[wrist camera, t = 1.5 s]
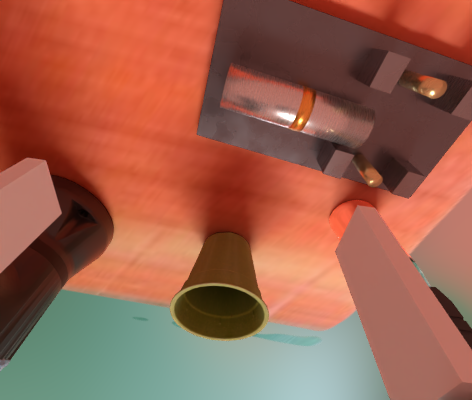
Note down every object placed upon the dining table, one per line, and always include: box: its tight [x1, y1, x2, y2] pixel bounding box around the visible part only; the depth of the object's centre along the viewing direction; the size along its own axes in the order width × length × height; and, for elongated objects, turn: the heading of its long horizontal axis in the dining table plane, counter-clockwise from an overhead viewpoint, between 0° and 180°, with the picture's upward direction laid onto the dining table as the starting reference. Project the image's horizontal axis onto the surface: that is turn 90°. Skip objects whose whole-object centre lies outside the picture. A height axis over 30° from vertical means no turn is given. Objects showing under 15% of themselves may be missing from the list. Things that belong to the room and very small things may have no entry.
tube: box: [220, 63, 376, 149], centre depth 25 cm, size 14×4×4 cm, turn 74°
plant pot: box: [170, 232, 269, 341], centre depth 36 cm, size 12×12×11 cm
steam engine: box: [197, 0, 472, 199], centre depth 25 cm, size 27×14×6 cm, turn 74°
